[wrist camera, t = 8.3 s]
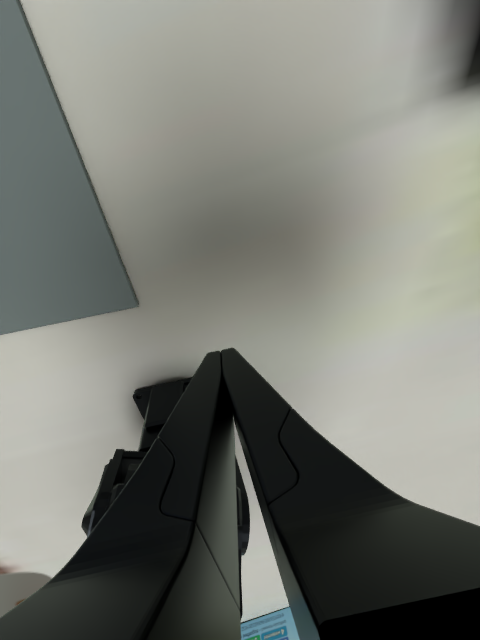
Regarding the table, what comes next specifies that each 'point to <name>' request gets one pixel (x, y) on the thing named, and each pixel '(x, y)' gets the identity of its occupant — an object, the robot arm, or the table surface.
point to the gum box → (271, 627)
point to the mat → (47, 201)
